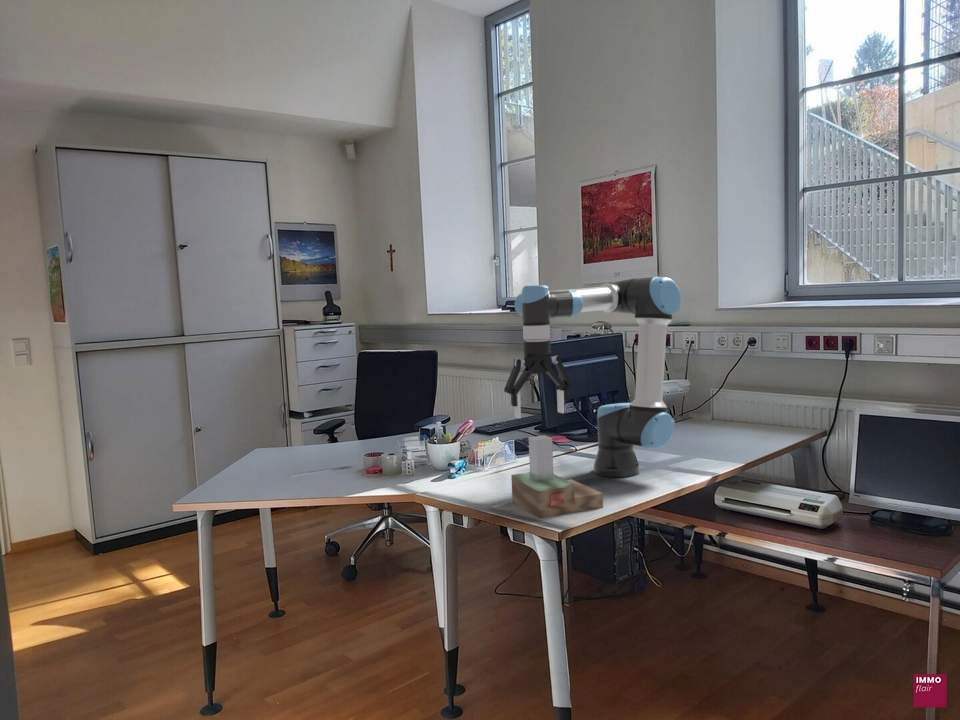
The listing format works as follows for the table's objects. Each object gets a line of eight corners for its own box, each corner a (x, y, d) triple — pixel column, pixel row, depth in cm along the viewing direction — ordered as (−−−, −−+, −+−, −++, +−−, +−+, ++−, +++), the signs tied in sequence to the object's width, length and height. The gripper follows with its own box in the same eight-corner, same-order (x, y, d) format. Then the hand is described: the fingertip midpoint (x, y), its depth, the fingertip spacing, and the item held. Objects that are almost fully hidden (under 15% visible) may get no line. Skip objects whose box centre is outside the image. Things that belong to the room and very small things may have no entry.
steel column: (545, 476, 211) (544, 435, 210) (553, 479, 206) (552, 438, 205) (530, 478, 209) (528, 437, 208) (537, 482, 204) (536, 440, 203)
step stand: (572, 492, 222) (571, 466, 221) (604, 507, 205) (603, 479, 204) (512, 501, 215) (511, 474, 214) (540, 518, 198) (539, 489, 197)
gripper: (569, 336, 212) (572, 408, 214) (490, 342, 203) (493, 417, 205) (582, 338, 205) (584, 412, 207) (501, 343, 196) (504, 421, 198)
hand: (539, 415), depth 206 cm, fingers open, 13 cm apart
